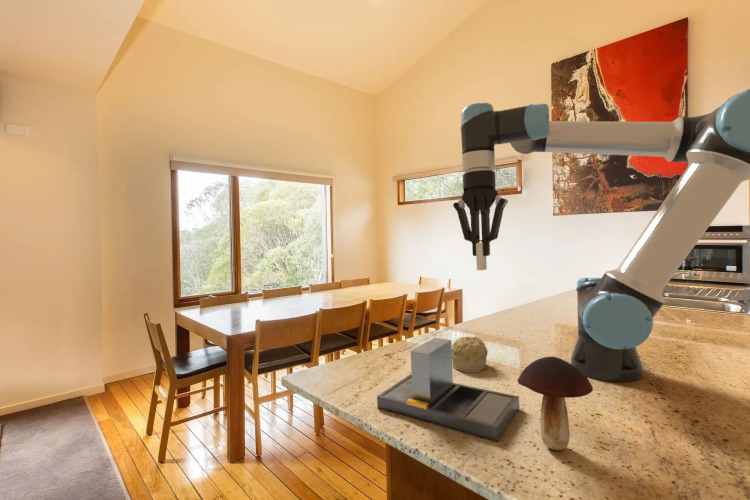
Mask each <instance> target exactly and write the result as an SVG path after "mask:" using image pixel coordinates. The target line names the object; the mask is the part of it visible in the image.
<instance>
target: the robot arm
mask: <svg viewBox="0 0 750 500" xmlns="http://www.w3.org/2000/svg"><path fill="white" fill-rule="evenodd" d="M460 115H461V119H460V120H461V121H460V122H461V123H460V134H461V159H462V160H461V162H462V163H461V164H462V165H461V166H462V170H461V171H462V172H464V173H463V174H462V189H463V193H462V195H461V199H459V200H458V201H457V202H454V203H453V208H454V209H455V211H456V212H457V215H458V216H457V217H458V220H459V223H460V227H461V231H462V235H463V238H464V240H465V241H468V242H470V243H471V245H472V255H473V257H476V271H485V270H487V269H488V268H487V267H488V266H487V263H488V262H487V257H489V256H490V255H491V242H492V241H494V240H497V239H498V237H499V232H500V227H501V222H502V219H503V213H504V209H505V207H506V206H507V205H508V203H509V200H508V199H507V198H503V197H502V196H500V195H499V192H497V190H496V172H495V171H494V169H495V168H496V166H495V165H496V163H495V160H496V159H495V145H504V144H510V145H511V147H512V149H513V150H514V151H516V152H517V153H519V154H522V155H528V154H532V153H534V152H535V153H560V154H561V153H565V154H585V155H586V154H589V155H609V156H611V155H613V156H632V157H633V156H635V157H636V156H637V157H639V156H640V157H656V158H657V157H658V158H659V157H660V158H661V157H662V158H664V159H665V160H666V161H667V163H668V162H669V163H686V164H688V165H687V167H686V169H685V170H684V171H683V172H682V174H681V175H680V177H679V179H678V180H677V181H676V183H675V184H674V186H673V187H672V189H671V190H670V192H669V193H668V194H667V196H666V197H665V199H664V200H663V202H662V203H661V205H660V206H659V208H658V209H657V211H656V212H655V214H654V215H653V216H652V218H651V219H650V221H649V222H648V223H647V226H646V227H645V228H644V230H643V231H642V233H641V234H640V236H638V239H637V240H636V241H635V242H634V244H633V246H632V247H631V248H630V250H629V251H628V253H627V254H626V256H625V257H624V258H623V260H622V262H620V264H619V266H618V268H615V269H611V270H607V271H605V272H604V274H603V275H602V277H581V278H579V279H578V280H577V282H576V283H577V285H576V290H575V291H576V294H577V295H576V296H577V298H576V299H577V305H576V306H577V339H576V342H575V345H574V348H573V351H572V353H571V356H570V364H572V365H574V366H575V367H577V368H578V369H579V370H581V371H582V372H583V373H584V374H585V375H586V377H587V378H591V379H592V378H593V379H597V380H600V381H606V382H607V381H608V382H623V383H624V382H633V381H638V380H640V379H642V378H643V376H644V367H643V363H642V360H641V358H640V356H639V353H638V350H637V347H639V346H640V345H641V344H643V343H644V342H646V341H647V340H648V338H649V337H650V336H651V334H652V332H653V326H654V320H653V319H654V318H655V316H656V315H657V314H658V312H659V311H660V309H661V308H662V307H663V305H665V302H666V301H665V298H664V296H663V290H664V289H665V288H666V286H667V284H668V283H669V282H670V280H672V279H671V278H673V277H674V275H675V274H676V272H677V271H678V269H679V268H680V267H681V265H682V264H683V263H684V261H685V260H686V258H687V257H688V256H689V254H690V253H691V251H692V250H693V249H694V248H695V246H696V245H697V243H698V242H699V241H700V239H701V238H702V236H703V235H704V234H705V232H706V231H707V230H708V228H709V227H710V226H711V225H712V223H713V222H714V220H715V219H716V218H717V216H718V215H719V214H720V212H721V211H722V209H723V208H724V207H725V206H726V204H727V202H728V201H730V199H731V197H732V196H733V194H734V193H735V192H736V191H737V189H738V188H739V186H740V184H742V183H743V182H745V181H749V180H750V88H748V89H746V90H743V91H741V92H738V93H736V94H735V95H732V96H730V97H729V98H728V99H726V100H725V101H724V103H722V104H721V105H720V106H719V107H716V109H714V110H713V111H711V112H709V113H707V114H702V115H699V116H698V115H697V116H688V117H687V116H684V117H683V116H680V117H677V118H675V119H674V120H672V121H601V120H600V121H597V120H595V121H591V120H590V121H583V120H581V121H578V120H574V121H571V120H568V121H567V120H564V121H563V120H557V121H556V120H554V121H553V120H550V107H549V105H548V104H546V103H538V104H537V103H535V104H532V103H531V104H529V105H524V106H520V107H519V106H518V107H512V108H509V109H503V110H494V107H493V104H491V103H488V102H482V103H480V102H476V103H471V104H469V105H467V106H465V107H464V108H463V109H462V110H461V113H460ZM494 203H495V209H494V214H493V217H492V221H491V224H490V214H491V207H492V206H493V204H494ZM465 207H468V209H469V215H470V223H469V219H468V215H467V211H466V209H465ZM480 219H481V225H480ZM480 226H481V234H480ZM480 235H481V236H480Z"/></svg>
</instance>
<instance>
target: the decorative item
mask: <svg viewBox="0 0 750 500" xmlns="http://www.w3.org/2000/svg"><path fill="white" fill-rule="evenodd" d="M451 347H452V368H454V369H455V370H457V371H460V372H464V373H477V372H478V373H479V372H481V371H482V370H484V369H485V368H486V364H487V357H488V352H489V351H488V349H487V347H486V344H485V343H484V342H483V340H482V339H480V338H479V337H478V336H463V337H459V338H458V339H456V340H455V341H454V342H453V344H451Z"/></svg>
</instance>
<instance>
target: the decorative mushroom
mask: <svg viewBox="0 0 750 500" xmlns="http://www.w3.org/2000/svg"><path fill="white" fill-rule="evenodd" d="M517 383H518V384H519V385H520V386H522V387H525V388H527V389H529V390H530V391H533V392H535V393H537V394H539V395H540V394H541V395H542V401H541V407H540V436H541V440H542V443H543V444H544V445H545V446H546V447H547V448H549V449H550V450H553V451H562V450H565V449H566V448H567V447H568V446H569V442H570V422H569V416H568V414H569V412H568V409H567V405H566V404H567V403H566V399H565V398H571V399H572V398H573V399H574V398H580V397H584V396H587V395H589V394H591V393H592V392H593V389H594V388H593V385H592V384H591V382H590V380H589V377H588V376H586V375H585V374H584V373H583V372H582V371H581V370H579V369H578V368H577V367H575V366H574V365H572V364H571V362H569V361H567V360H564V359H562V358H559V357H555V356H544V357H541V358H538V359H536V360H534V361H533V362H531V363H530V364H528V365H527V366H526V367H525V368H524V369H523V370H522V371H521V373H520V375H519V377H518V378H517Z"/></svg>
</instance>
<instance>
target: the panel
mask: <svg viewBox="0 0 750 500" xmlns="http://www.w3.org/2000/svg"><path fill="white" fill-rule="evenodd" d="M452 365H453V362H452V340H451V339H447V338H446V339H445V338H439V337H438V338H437V337H434V338H431V339H430V340H428V341H426V342H424V343H422V344H420V345H419V346H417V347H415V348H414V349H412V350H410V367H411V368H410V369H411V372H410V373H411V374H412V397H413V399H414V400H418V401H422V402H426V403H429V408H431V407H433V406H434V405H435V404H436V403H437V402H438V401H440V400H441V399H442V398H443V397H444V396H445V395H446V394H448V393H449V392H450V391H451V390H452V389H453V383H454V380H453V379H454V378H453V376H454V375H453V366H452Z"/></svg>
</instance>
